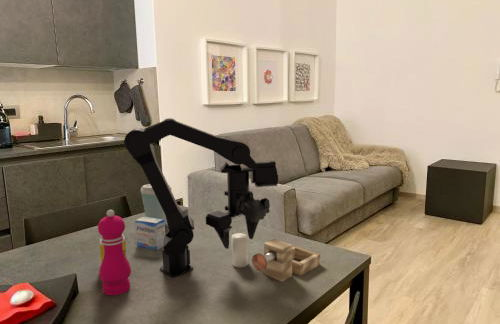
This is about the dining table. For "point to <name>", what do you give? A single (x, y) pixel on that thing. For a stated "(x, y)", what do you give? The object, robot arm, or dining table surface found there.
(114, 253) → the pepper mill
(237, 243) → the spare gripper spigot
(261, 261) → the lock pin
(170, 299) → the dining table surface
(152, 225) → the medicine box
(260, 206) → the robot arm
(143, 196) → the disposable coffee cup
